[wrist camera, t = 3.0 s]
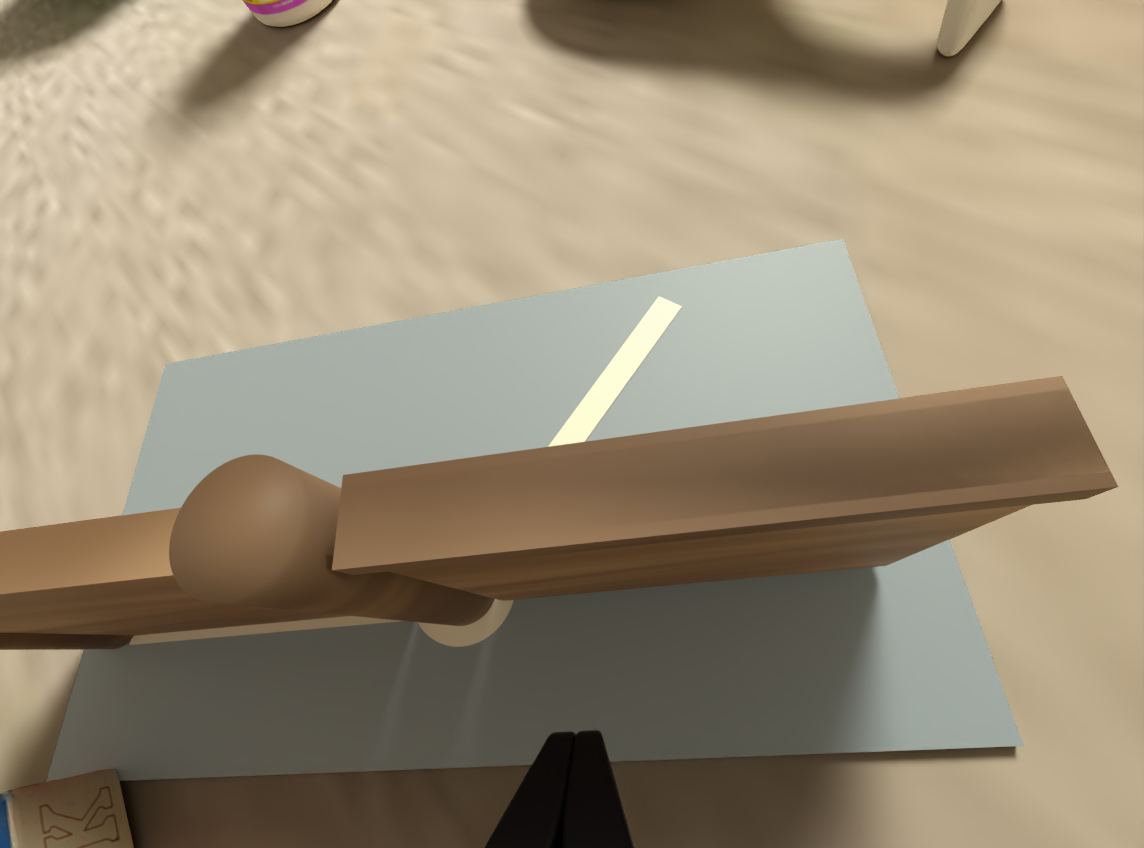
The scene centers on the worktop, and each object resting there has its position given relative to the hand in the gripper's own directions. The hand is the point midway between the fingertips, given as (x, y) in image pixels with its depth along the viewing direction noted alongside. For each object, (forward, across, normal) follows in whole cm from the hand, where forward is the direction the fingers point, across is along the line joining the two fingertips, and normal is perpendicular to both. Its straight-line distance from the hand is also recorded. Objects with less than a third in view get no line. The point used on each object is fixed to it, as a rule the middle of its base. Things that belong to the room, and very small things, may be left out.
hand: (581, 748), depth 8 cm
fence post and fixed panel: (+8, +12, +2) cm, 14 cm away
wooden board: (+7, -2, +2) cm, 8 cm away
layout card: (+10, +5, 0) cm, 11 cm away
